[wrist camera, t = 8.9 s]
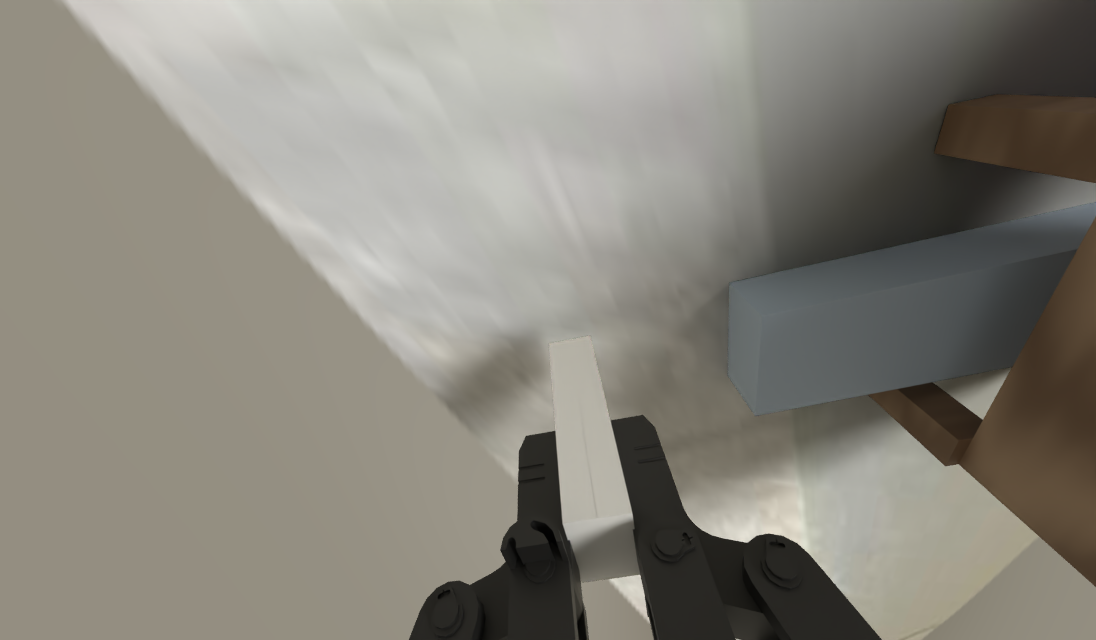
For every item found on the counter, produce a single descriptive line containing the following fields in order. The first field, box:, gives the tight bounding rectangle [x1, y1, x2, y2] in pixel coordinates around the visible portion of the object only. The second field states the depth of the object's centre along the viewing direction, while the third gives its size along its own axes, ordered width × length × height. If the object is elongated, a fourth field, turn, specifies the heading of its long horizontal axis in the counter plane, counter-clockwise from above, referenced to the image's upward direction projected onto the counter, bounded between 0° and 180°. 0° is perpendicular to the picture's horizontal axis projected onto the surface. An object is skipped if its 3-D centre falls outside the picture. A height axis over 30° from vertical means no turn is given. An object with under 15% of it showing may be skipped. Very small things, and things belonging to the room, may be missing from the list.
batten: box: [728, 202, 1096, 416], centre depth 16 cm, size 5×15×3 cm, turn 103°
